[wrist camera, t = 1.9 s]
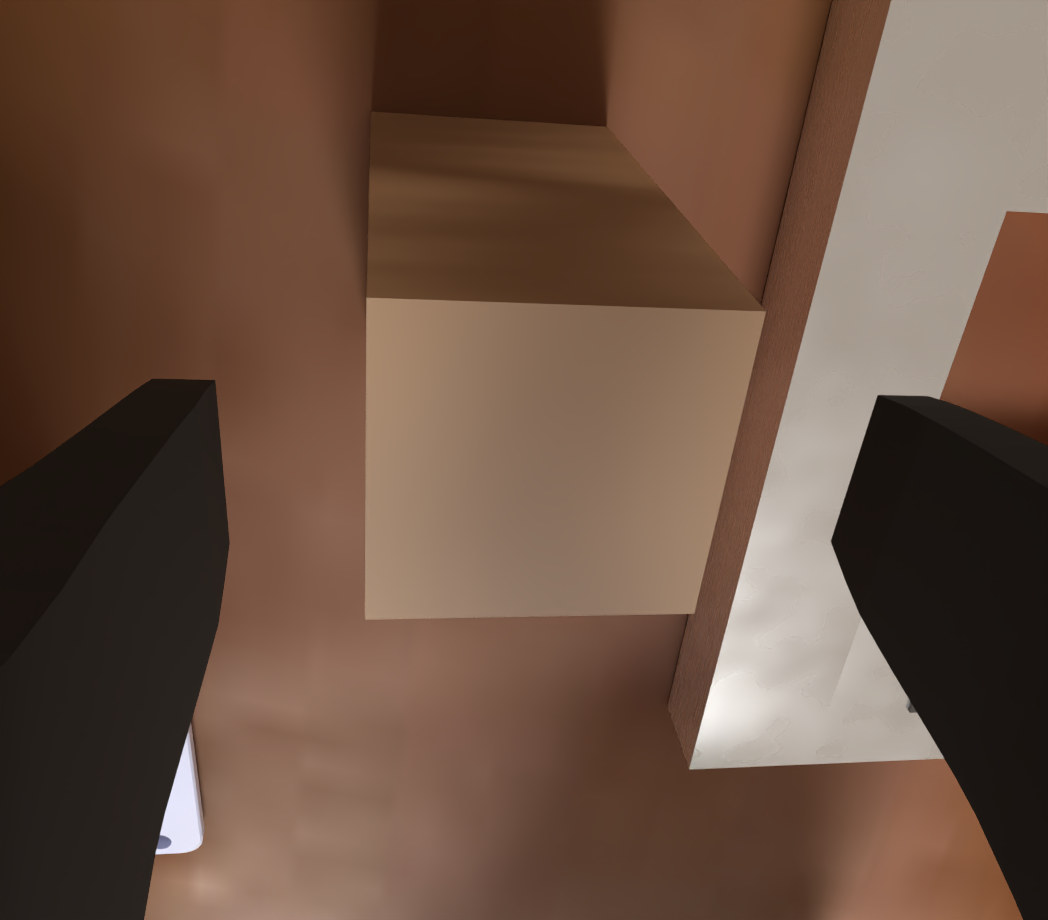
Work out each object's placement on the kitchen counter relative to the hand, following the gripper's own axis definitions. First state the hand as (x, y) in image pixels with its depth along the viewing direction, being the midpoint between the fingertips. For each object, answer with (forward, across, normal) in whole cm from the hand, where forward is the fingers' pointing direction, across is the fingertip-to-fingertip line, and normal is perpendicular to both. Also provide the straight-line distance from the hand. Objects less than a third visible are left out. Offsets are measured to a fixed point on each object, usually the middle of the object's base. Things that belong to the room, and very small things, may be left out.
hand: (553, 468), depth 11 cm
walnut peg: (+8, 0, 0) cm, 8 cm away
